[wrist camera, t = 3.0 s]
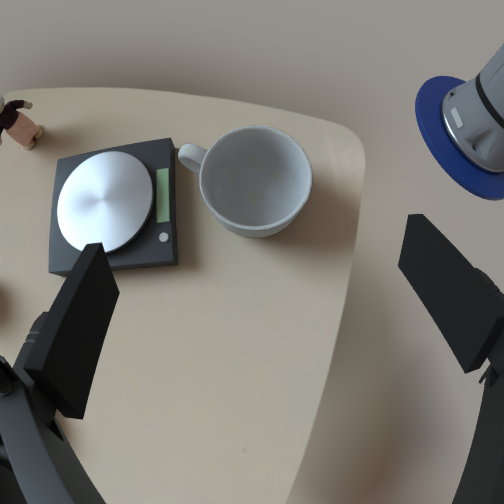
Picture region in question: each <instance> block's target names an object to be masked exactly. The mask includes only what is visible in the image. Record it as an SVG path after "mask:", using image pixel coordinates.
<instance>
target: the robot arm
mask: <svg viewBox="0 0 504 504" xmlns="http://www.w3.org/2000/svg"><path fill="white" fill-rule="evenodd" d="M439 112H440V119H441V123H442V126H443V128H444V131H445V133H446V135H447V137H448V138H449V140H450V142H451V143H452V145H453V146H454V147H455V149H456V150H457V151H458V152H459V154H460V155H461V156H462V157H463V158H464V159H465V160H466V161H467V162H469V163H470V164H471V165H472V166H474V167H475V168H477V169H478V170H480V171H482V172H485V173H488V174H499V173H501V172H503V171H504V44H503V45H502V46H501V47H500V49H499V50H498V51H497V52H496V54H495V55H494V56H493V57H492V58H491V60H490V61H489V62H488V63H487V64H486V66H485V67H484V68H483V69H482V70H481V72H480V73H479V74H478V75H477V76H476V78H474V79H472V80H470V81H468V82H466V83H463V84H461V85H459V86H457V87H455V88H453V89H452V90H450V91H449V92H448V93H447V94H446V95H445V97H444V98H443V99H442V101H441V103H440V110H439ZM398 267H399V268H400V270H401V271H402V272H403V274H404V276H405V277H406V278H407V280H408V281H409V283H410V284H411V286H412V287H413V289H414V290H415V292H416V293H417V295H418V296H419V298H420V299H421V301H422V302H423V304H424V306H425V307H426V309H427V310H428V312H429V313H430V315H431V316H432V318H433V320H434V321H435V323H436V324H437V326H438V328H439V330H440V331H441V333H442V334H443V336H444V338H445V339H446V341H447V343H448V344H449V346H450V348H451V349H452V351H453V353H454V355H455V356H456V358H457V360H458V362H459V364H460V365H461V367H462V369H463V371H464V373H465V374H466V373H469V372H471V371H474V370H477V369H479V368H480V367H481V366H482V364H483V363H484V361H485V360H486V358H488V360H489V361H490V365H489V367H488V368H487V370H486V371H485V372H484V374H483V375H482V377H481V378H480V380H479V383H482V381H483V380H484V378H486V381H485V384H484V385H485V386H484V392H483V397H482V403H481V407H480V413H479V417H478V421H477V425H476V430H475V434H474V438H473V442H472V445H471V448H470V452H469V455H468V459H467V462H466V465H465V468H464V472H463V475H462V477H461V480H460V483H459V486H458V489H457V492H456V494H455V497H454V499H453V502H452V504H504V294H503V293H502V292H500V290H499V289H498V287H497V286H496V285H494V282H493V281H492V280H491V279H490V278H489V277H488V276H487V275H486V274H485V273H483V272H482V271H481V270H479V269H478V268H474V267H473V266H472V265H471V264H470V263H469V262H468V260H467V259H466V258H465V257H464V256H463V255H462V254H461V253H460V252H459V251H458V250H457V248H456V247H455V246H454V245H453V244H452V243H451V242H450V241H449V240H448V239H447V238H446V237H445V236H444V235H443V234H442V233H441V232H440V231H439V230H438V229H437V228H436V227H435V226H434V225H433V224H432V223H431V222H430V221H429V220H428V219H427V218H426V217H425V216H424V215H423V214H411V215H408V219H407V225H406V230H405V235H404V240H403V245H402V249H401V254H400V259H399V263H398ZM119 294H120V292H119V290H118V287H117V284H116V282H115V279H114V276H113V273H112V271H111V268H110V265H109V262H108V259H107V256H106V253H105V250H104V247H103V244H102V242H98V243H90V244H86V245H85V247H84V249H83V250H82V252H81V254H80V255H79V257H78V259H77V261H76V262H75V264H74V266H73V267H72V269H71V271H70V273H69V275H68V276H67V278H66V280H65V282H64V284H63V285H62V287H61V289H60V291H59V293H58V295H57V297H56V298H55V300H54V302H53V304H52V306H51V308H50V310H49V312H43V313H42V314H41V315H40V316H39V317H38V318H37V319H36V320H35V322H34V324H33V326H32V328H31V330H30V334H28V336H27V338H26V340H25V341H26V342H24V344H23V346H22V348H21V350H20V353H19V355H18V357H17V359H16V361H15V364H14V366H13V368H12V367H11V366H10V365H9V363H8V362H7V361H6V359H5V358H4V357H2V356H1V355H0V504H106V503H105V501H104V500H103V498H102V497H101V495H100V494H99V492H98V491H97V489H96V488H95V486H94V485H93V483H92V481H91V480H90V478H89V477H88V475H87V473H86V472H85V470H84V468H83V467H82V465H81V463H80V462H79V460H78V458H77V456H76V454H75V453H74V451H73V449H72V447H71V445H70V443H69V442H68V440H67V438H66V436H65V434H64V432H63V430H62V428H61V426H60V424H59V422H58V421H57V419H56V418H55V417H54V416H55V412H56V409H57V410H58V411H59V412H60V413H61V414H62V415H63V416H64V417H66V418H74V419H83V417H84V413H85V409H86V405H87V401H88V397H89V393H90V389H91V385H92V381H93V377H94V374H95V370H96V367H97V363H98V359H99V356H100V353H101V349H102V346H103V343H104V339H105V336H106V333H107V330H108V327H109V323H110V320H111V317H112V314H113V311H114V308H115V305H116V302H117V299H118V296H119Z"/></svg>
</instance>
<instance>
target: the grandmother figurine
mask: <svg viewBox="0 0 504 504" xmlns="http://www.w3.org/2000/svg"><path fill="white" fill-rule="evenodd" d="M19 108H27V109H31V108H32V103H30V102H29V103H28V102H26V101H24V100H14V101H10V102H8V103H7V104H6V105H5V106H4V98H3V97H2V95H1V94H0V145H1V144H2V140H1V133H2V131H3V129H5V131H6V133H7V134H8V135H9V136H11V137H12V138H13V139H14V140H15V141H16V142H18V143H19V144H20V145H22V147H23V148H24V149H26V150H31V149H32V148H33V146H34V144H35V142H34V141H33V140H32V138H33V136H34V137H35V138H36V139H38V138H40V137H41V136H42V134H43V130H42V126H41V125H36V124H35V123H34V122H33V121H31V120H30V119H29V118H28V117H26V116H25V115H24V114H23V113H21V112H18V111H16V109H19Z"/></svg>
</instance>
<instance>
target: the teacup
mask: <svg viewBox="0 0 504 504" xmlns="http://www.w3.org/2000/svg"><path fill="white" fill-rule="evenodd" d="M178 158H179V160H180V162H181V163H182V164H183V165H184V166H186V167H187V168H188V169H190V170H191V171H193V172H195V173H196V174H198V175H199V182H200V190H201V194H202V197H203V199H204V201H205V203H206V205H207V206H208V207H209V209H210V210H211V212H212V213H213V215H214V216H215V218H216V219H217V220H218V221H219V223H221V224H222V225H223V226H224V227H225V228H226V229H228V230H229V231H231V232H233V233H235V234H237V235H241V236H244V237H250V238H260V237H266V236H270V235H273V234H275V233H278V232H279V231H281V230H283V229H284V228H285V227H287V226H288V225H289V224H290V223H291V222H292V221H293V220H294V219H295V217H296V216H297V215H298V213H299V212H300V211H301V209H302V208H303V207H304V205H305V203H306V202H307V200H308V198H309V195H310V192H311V188H312V183H313V173H312V168H311V164H310V161H309V158H308V157H307V155H306V153H305V151H304V150H303V148H302V147H301V146H300V145H299V144H298V143H297V142H296V141H295V140H294V139H293V138H292V137H291V136H289V135H288V134H286V133H284V132H282V131H280V130H278V129H274V128H272V127H265V126H257V125H253V126H245V127H240V128H237V129H234V130H232V131H230V132H228V133H226V134H225V135H223V136H222V137H221V138H219V139H218V140H217V141H216V142H215V143H214V144H213V145H212V146H211V148H210V149H209V150H208V151H206V150H205V149H203V148H201V147H200V146H197V145H195V144H185V145H183V146H182V147H181V149H180V151H179V153H178Z"/></svg>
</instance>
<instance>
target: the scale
mask: <svg viewBox="0 0 504 504" xmlns="http://www.w3.org/2000/svg"><path fill="white" fill-rule="evenodd" d="M110 151H118V152H124V153H127V154H130V155H132V156H134V157H135V158H137V159H138V160H139V161H140V162H142V163H143V165H144V166H145V167H146V169H147V170H148V172H149V174H150V176H151V179H152V182H153V187H154V202H153V207H152V211H151V214H150V217H149V219H148V221H147V223H146V225H145V226H144V228H143V229H142V231H141V232H140V233H139V235H138V236H137V237H136V238H135V239H134V240H133V241H131V242H130V243H129V244H128V245H126V246H125V247H123V248H122V249H120V250H118V251H115V252H112V253H109V254H106V256H107V259H108V262H109V265H110V268H111V271H115V270H126V269H137V268H148V267H158V266H169V265H178V254H177V233H176V205H175V147H174V145H173V142H172V140H171V138H165V139H159V140H152V141H146V142H140V143H134V144H129V145H123V146H118V147H113V148H108V149H103V150H98V151H93V152H89V153H84V154H80V155H76V156H71V157H67V158H63V159H59V160H58V162H57V169H56V176H55V183H54V192H53V201H52V211H51V224H50V241H49V273H52V274H56V275H69V273H70V271H71V269H72V267H73V266H74V264H75V262H76V261H77V259H78V257H79V255H80V254H81V252H82V251H80V250H78V249H76V248H75V247H73V246H72V245H71V244H70V243H69V242H68V241H67V240H66V239H65V237H64V236H63V234H62V232H61V229H60V227H59V223H58V215H57V208H58V201H59V197H60V194H61V191H62V188H63V186H64V184H65V182H66V181H67V179H68V178H69V176H70V175H71V174H72V172H73V171H74V170H75V169H76V168H77V167H78V166H79V165H80V164H82V163H83V162H84V161H86V160H87V159H89V158H91V157H93V156H95V155H97V154H100V153H104V152H110Z"/></svg>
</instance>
